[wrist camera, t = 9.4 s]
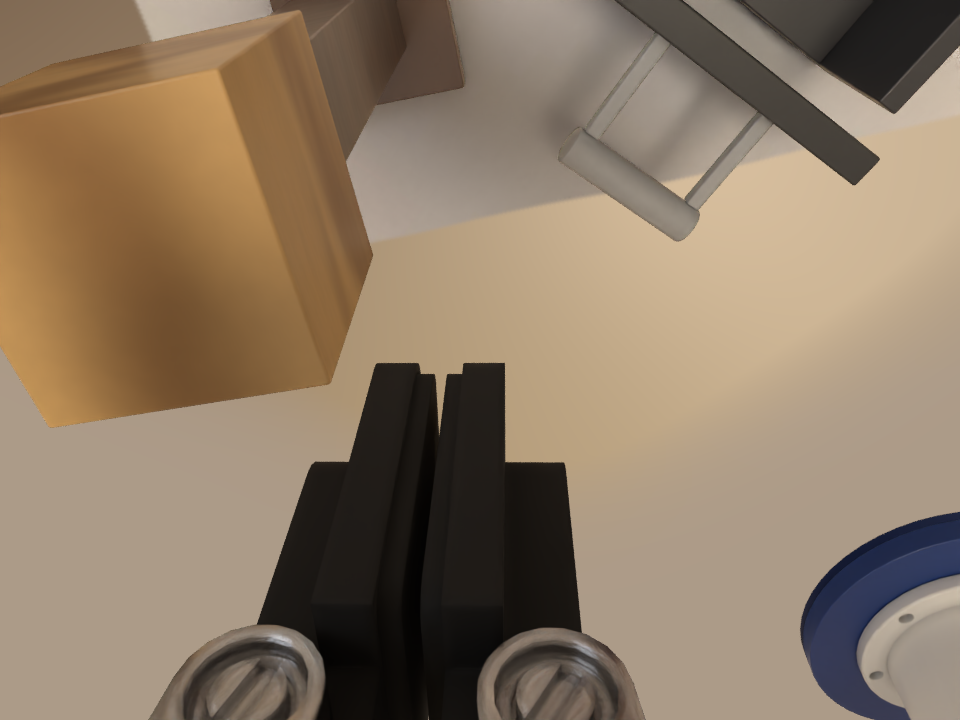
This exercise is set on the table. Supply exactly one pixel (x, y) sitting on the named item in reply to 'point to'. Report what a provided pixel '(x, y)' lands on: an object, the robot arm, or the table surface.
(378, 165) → the table surface
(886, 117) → the table surface
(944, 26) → the drawer
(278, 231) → the block
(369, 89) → the stand
